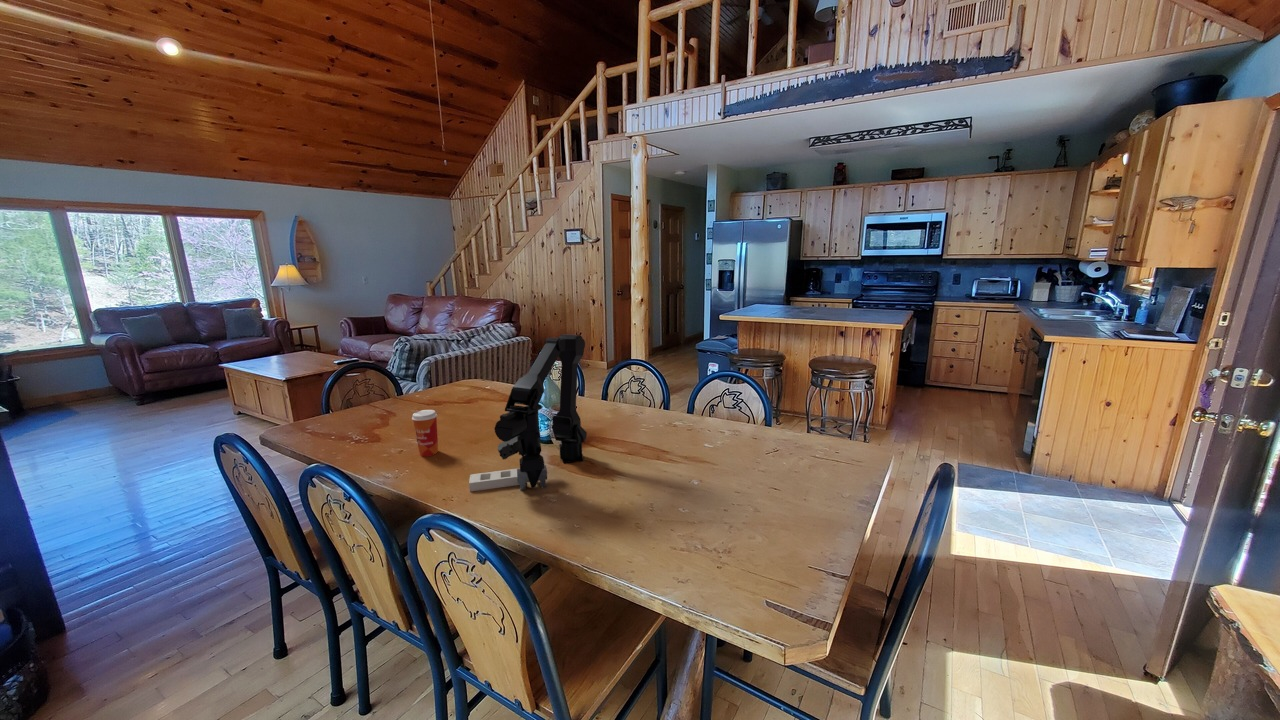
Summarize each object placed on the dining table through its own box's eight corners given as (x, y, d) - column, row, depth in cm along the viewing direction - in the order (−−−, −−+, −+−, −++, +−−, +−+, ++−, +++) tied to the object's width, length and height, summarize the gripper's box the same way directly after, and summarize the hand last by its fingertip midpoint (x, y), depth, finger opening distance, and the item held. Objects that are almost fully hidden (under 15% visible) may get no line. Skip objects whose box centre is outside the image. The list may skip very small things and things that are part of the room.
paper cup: (411, 455, 160) (405, 415, 157) (429, 447, 167) (424, 408, 164) (429, 459, 157) (424, 417, 154) (446, 450, 164) (442, 410, 161)
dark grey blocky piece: (547, 482, 139) (545, 465, 138) (547, 486, 136) (546, 469, 135) (518, 486, 137) (516, 468, 136) (518, 490, 134) (517, 473, 133)
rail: (521, 476, 143) (520, 468, 143) (521, 484, 138) (521, 476, 137) (471, 482, 140) (470, 474, 139) (469, 491, 134) (468, 483, 134)
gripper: (498, 420, 140) (503, 471, 143) (497, 444, 122) (502, 501, 125) (538, 416, 142) (541, 466, 146) (542, 439, 125) (546, 495, 128)
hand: (532, 481), depth 136 cm, fingers open, 7 cm apart
